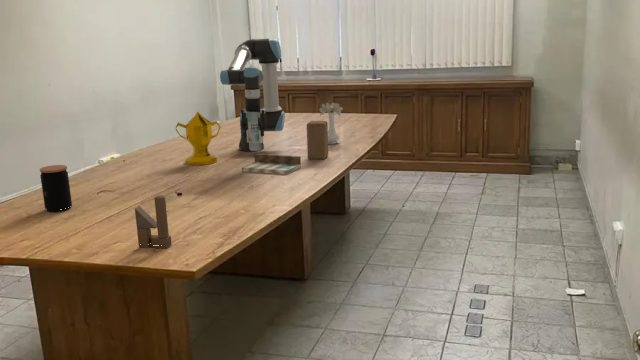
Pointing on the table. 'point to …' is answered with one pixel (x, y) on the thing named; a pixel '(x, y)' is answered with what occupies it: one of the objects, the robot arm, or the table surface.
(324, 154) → the wooden block
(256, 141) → the spray paint can
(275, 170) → the marking board
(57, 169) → the coffee jar
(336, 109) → the flower vase
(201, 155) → the trophy cup
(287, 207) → the table surface
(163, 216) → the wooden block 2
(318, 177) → the table surface
